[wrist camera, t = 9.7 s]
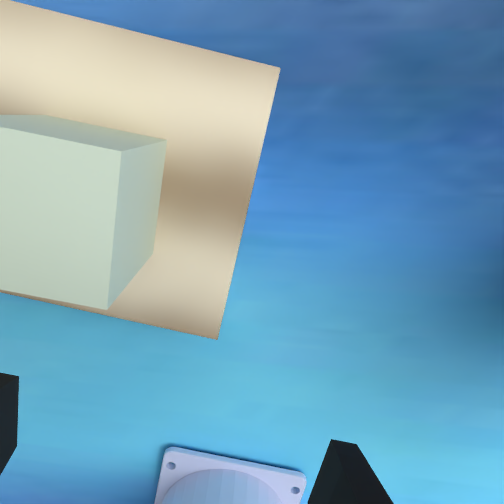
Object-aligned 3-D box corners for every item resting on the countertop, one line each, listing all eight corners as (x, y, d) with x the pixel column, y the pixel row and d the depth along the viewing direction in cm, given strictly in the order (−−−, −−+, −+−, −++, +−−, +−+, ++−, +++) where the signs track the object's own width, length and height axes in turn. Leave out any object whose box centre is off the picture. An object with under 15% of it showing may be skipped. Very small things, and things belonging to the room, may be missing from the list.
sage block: (153, 253, 16) (106, 310, 12) (41, 231, 16) (-52, 279, 11) (167, 140, 15) (121, 151, 10) (45, 114, 15) (-59, 114, 10)
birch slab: (224, 308, 20) (217, 339, 18) (4, 259, 20) (-39, 283, 17) (278, 75, 17) (280, 68, 14) (13, 10, 16) (-40, -13, 14)
